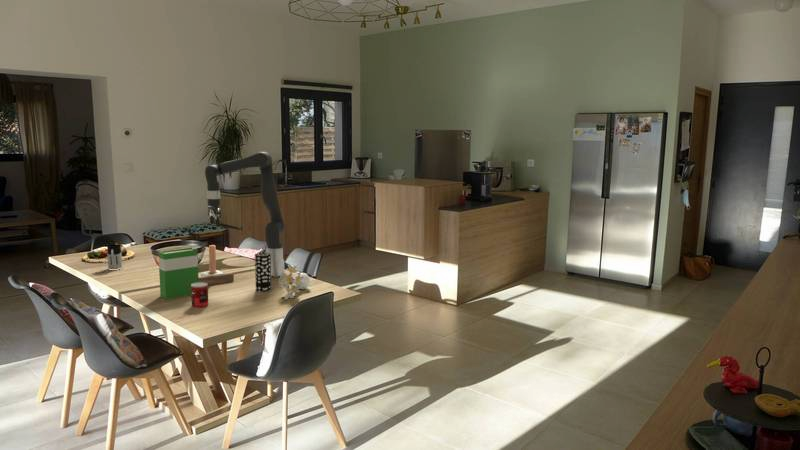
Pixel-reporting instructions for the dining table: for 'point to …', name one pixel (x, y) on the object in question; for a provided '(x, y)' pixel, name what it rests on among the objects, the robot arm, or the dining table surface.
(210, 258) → the terracotta dowel
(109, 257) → the black capped bottle
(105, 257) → the wooden plate with food
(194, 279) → the green box
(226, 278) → the walnut track
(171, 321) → the dining table surface
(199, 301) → the canned food
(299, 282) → the flower vase
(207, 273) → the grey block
